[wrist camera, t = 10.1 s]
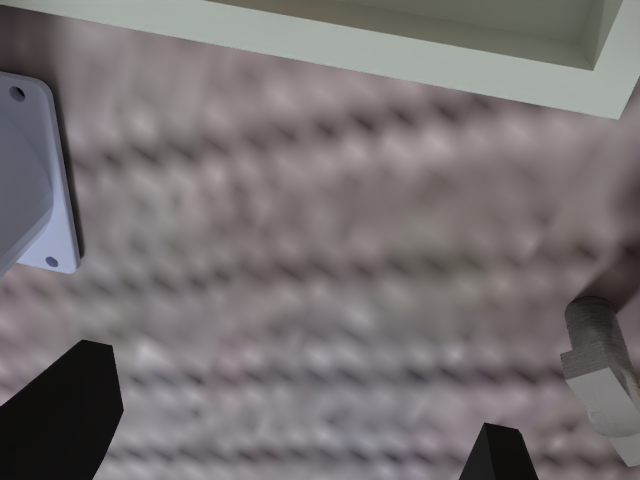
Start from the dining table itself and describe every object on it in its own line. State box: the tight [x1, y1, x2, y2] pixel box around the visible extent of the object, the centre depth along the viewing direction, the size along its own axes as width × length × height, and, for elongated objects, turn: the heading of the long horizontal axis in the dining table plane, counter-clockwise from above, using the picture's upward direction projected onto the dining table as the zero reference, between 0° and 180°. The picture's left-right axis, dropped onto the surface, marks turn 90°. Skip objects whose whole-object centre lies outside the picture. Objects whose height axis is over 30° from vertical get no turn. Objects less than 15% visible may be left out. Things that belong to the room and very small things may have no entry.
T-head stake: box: [560, 297, 640, 467], centre depth 19 cm, size 4×2×4 cm, turn 38°
